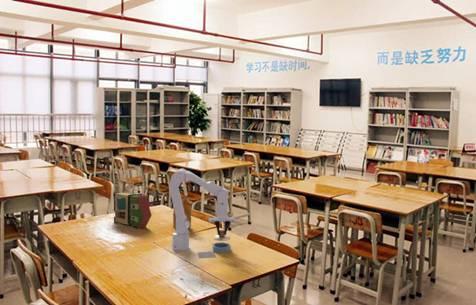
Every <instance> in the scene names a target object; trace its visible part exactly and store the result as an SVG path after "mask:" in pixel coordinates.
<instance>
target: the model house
mask: <svg viewBox="0 0 476 305" xmlns="http://www.w3.org/2000/svg"><path fill="white" fill-rule="evenodd" d="M148 202H149V201H148V199H147V195H145V194H136V193H133V194H132V193H127V192H122V191H115V192H113V212H114V216H113V223H119V224H124V225H127V226H128V227H136V228H137V229H138V230H140V229H144V228H146V227H147V226H148V224H149V222H150V219H151V217H152V215H153V214H152V212H151V208H150V205H149V203H148Z"/></svg>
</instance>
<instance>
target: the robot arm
mask: <svg viewBox="0 0 476 305" xmlns="http://www.w3.org/2000/svg"><path fill="white" fill-rule="evenodd" d="M184 181H185V182H193V183H194V184H197V185H199V186H201V187H203V188H204V190H205V191H206V192H207V193H209V194H211V195H213V196H214V197H216V198H217V204H216V205H217V207H216V208H217V209H216V212H217V213H216V217H210V218H208V223H214V225H215V228H216V232H217V235H219V234H220V233H219V230H220V226H221V224H220V223H222V222H223V223H224V227H223V228H224V229H223V230H225V235H227V232H228V229H229V227H230V225H231V223H232V222H234V223H236V218H235V217H230V216H228V213H229V212H228V210H229V207H228V206H229V202H228V201H229V198H228V197H229V190H228V189H227V188H226V187H223V186H222V185H221V186H220V185H218V184H216V182H215V181H206V180H205V179H203V178H201V177H199V176H198V175H196V174H195V173H193V172H191V171H190V170H187V169H186V168H180V169H178V170H176V171H175V172H174V173H173V174H172V175H171V179H170V182H169V185H168V189H169V192H170V197H171V202H172V206H173V211H174V210H175V215H176V228H175V232H173V233H172V240H171V241H172V243H171V247H172V251H191V246H190V231H189V228H191V227H190V222H189V221H188V220H187V217H186V215H185V213H184V208H183V204H182V200H181V195H182V194H181V195H180V193H181V192H180V188H179V187H180V186H181V184H182V183H183V182H184Z"/></svg>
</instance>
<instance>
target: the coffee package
mask: <svg viewBox="0 0 476 305" xmlns="http://www.w3.org/2000/svg"><path fill="white" fill-rule="evenodd" d="M180 195H181V200H182V204H183V208H184V213H185V215H186V217H187V220H188V221H189V222H190V227H189V228H191V226H192V205H191V203H190V201H189V196H188V195H185V194H182V193H181V192H180ZM172 219H173V221H172V226H173V227H175V229H176V215H175V210H174V209H173V213H172Z"/></svg>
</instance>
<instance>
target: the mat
mask: <svg viewBox="0 0 476 305" xmlns="http://www.w3.org/2000/svg"><path fill="white" fill-rule="evenodd" d="M197 256H198V259H209V258H210V259H211V258H212V259H213V258H217V256H216V252H214V251H202V252H201V251H199V252H197Z"/></svg>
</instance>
